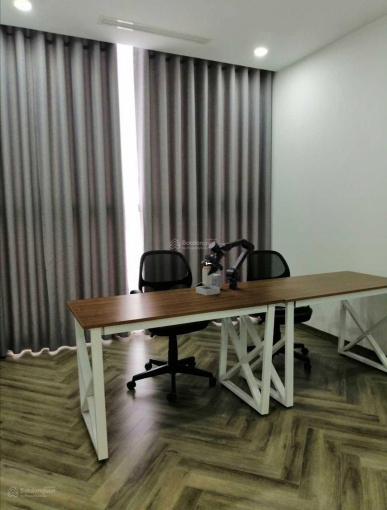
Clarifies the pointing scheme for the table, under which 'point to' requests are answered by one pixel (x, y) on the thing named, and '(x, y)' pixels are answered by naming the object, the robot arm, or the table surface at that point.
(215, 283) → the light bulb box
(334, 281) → the table surface
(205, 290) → the housing
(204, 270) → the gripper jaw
